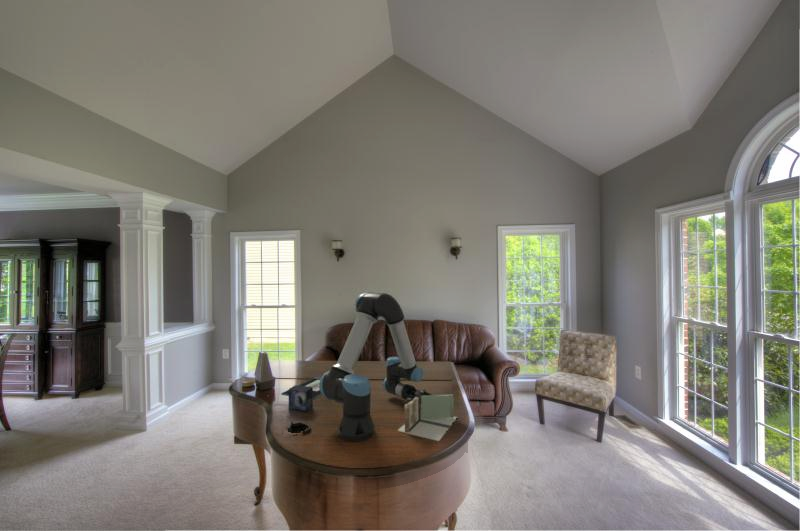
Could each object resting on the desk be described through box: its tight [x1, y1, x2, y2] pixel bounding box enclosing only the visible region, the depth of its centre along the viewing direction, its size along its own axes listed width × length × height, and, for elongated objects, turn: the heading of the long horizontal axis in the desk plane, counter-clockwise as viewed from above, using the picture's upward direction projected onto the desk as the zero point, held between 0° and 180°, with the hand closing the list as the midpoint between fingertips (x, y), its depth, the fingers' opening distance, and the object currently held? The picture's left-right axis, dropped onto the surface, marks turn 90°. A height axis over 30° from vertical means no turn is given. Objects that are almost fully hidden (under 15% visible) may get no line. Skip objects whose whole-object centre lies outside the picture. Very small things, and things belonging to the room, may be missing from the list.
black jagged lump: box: [287, 420, 312, 435], centre depth 142 cm, size 12×10×5 cm
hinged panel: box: [420, 393, 455, 419], centre depth 151 cm, size 15×2×10 cm, turn 95°
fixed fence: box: [404, 390, 421, 432], centre depth 145 cm, size 14×3×14 cm, turn 153°
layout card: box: [397, 409, 458, 442], centre depth 147 cm, size 24×19×1 cm
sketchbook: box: [280, 376, 323, 400], centre depth 194 cm, size 22×30×2 cm
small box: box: [288, 384, 314, 413], centre depth 165 cm, size 11×6×10 cm, turn 73°
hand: (440, 404), depth 153 cm, fingers closed
